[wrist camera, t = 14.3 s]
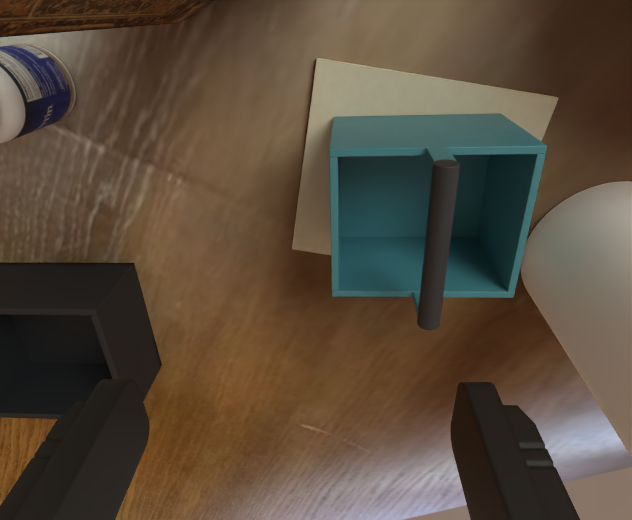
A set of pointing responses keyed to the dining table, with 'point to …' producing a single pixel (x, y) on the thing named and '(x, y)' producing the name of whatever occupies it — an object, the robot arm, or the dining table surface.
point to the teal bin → (430, 206)
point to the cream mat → (389, 100)
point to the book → (90, 14)
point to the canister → (589, 291)
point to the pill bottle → (32, 90)
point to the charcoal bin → (70, 335)
